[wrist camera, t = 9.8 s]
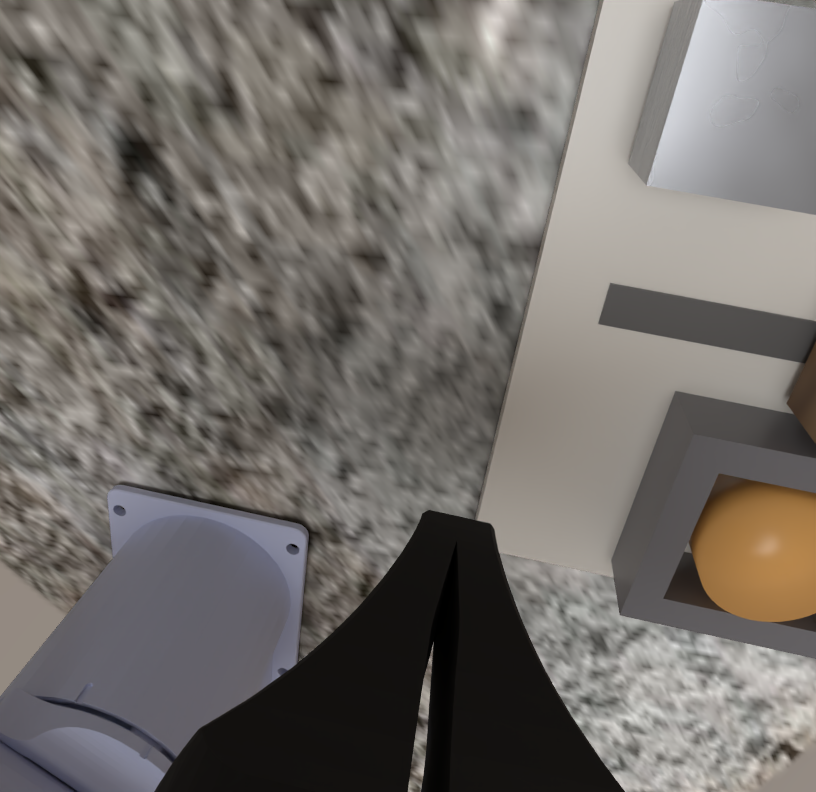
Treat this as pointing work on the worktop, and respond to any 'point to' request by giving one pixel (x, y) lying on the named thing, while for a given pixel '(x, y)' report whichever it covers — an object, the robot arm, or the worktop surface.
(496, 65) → the worktop surface
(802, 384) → the small cardboard carton
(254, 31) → the worktop surface
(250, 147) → the worktop surface
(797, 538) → the orange button
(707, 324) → the panel
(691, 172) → the grey slider
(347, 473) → the worktop surface
